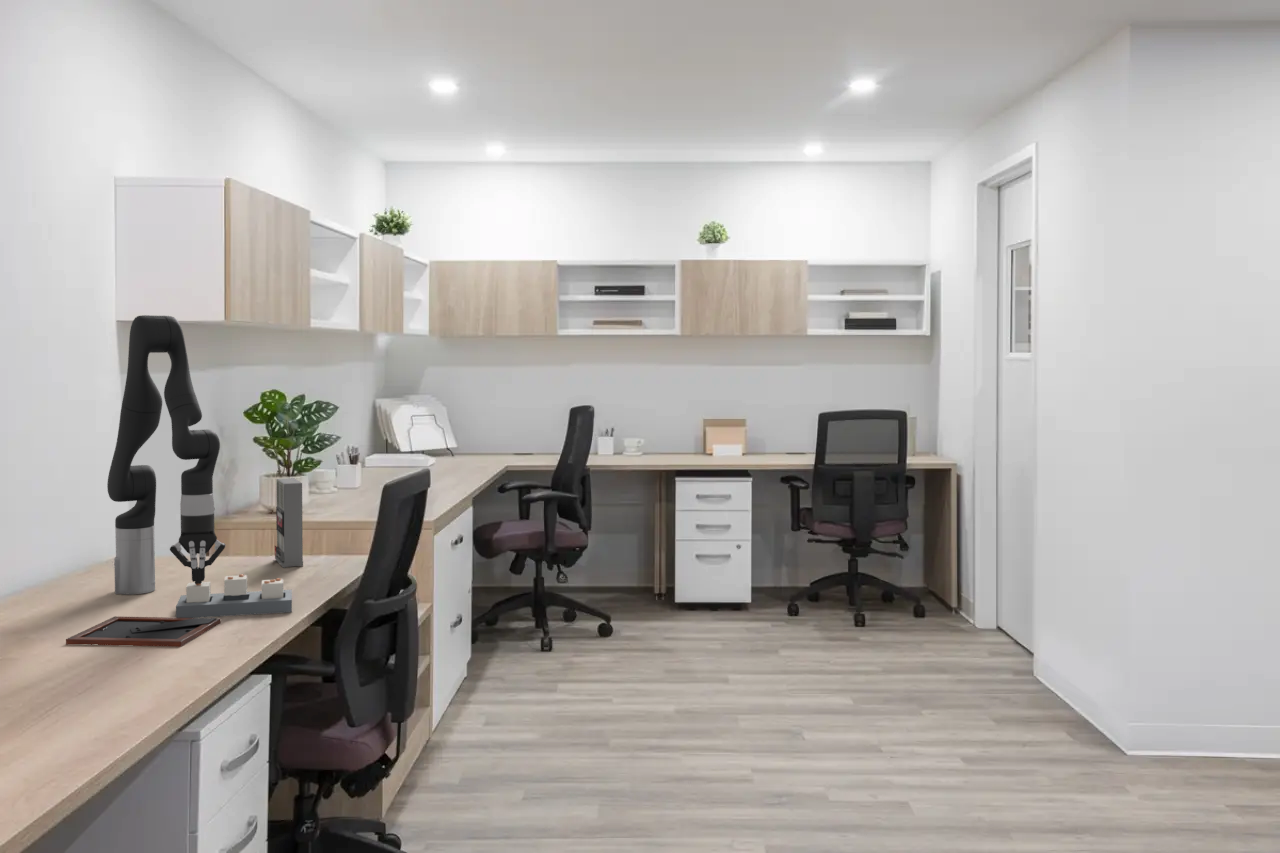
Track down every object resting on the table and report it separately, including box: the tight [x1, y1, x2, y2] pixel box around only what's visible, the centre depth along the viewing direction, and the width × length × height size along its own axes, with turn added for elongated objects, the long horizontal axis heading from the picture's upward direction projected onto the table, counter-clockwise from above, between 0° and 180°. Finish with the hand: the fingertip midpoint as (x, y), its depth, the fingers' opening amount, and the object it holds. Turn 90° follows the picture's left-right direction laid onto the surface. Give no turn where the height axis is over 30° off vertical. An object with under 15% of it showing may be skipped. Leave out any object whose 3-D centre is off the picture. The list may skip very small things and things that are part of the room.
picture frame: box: [65, 616, 222, 648], centre depth 234 cm, size 20×2×25 cm
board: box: [175, 589, 293, 618], centre depth 256 cm, size 26×12×3 cm, turn 108°
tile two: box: [223, 573, 248, 596], centre depth 256 cm, size 5×5×5 cm
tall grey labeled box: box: [274, 477, 304, 569], centre depth 314 cm, size 14×6×25 cm, turn 28°
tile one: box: [185, 581, 211, 603], centre depth 253 cm, size 5×5×5 cm
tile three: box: [261, 577, 284, 599], centre depth 259 cm, size 5×5×5 cm
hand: (198, 583), depth 253 cm, fingers closed
